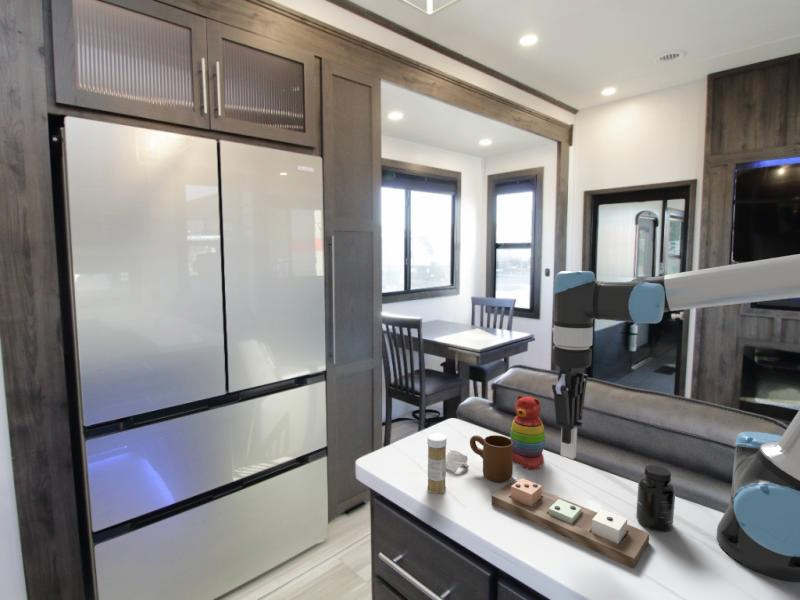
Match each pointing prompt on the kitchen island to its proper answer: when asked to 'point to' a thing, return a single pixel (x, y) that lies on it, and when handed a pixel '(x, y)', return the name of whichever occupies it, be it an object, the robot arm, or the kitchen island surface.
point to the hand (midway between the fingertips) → (568, 455)
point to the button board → (575, 526)
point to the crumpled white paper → (455, 460)
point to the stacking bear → (528, 433)
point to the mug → (495, 456)
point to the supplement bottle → (656, 499)
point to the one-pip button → (609, 526)
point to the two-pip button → (565, 511)
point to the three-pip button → (526, 492)
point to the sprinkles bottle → (436, 463)
